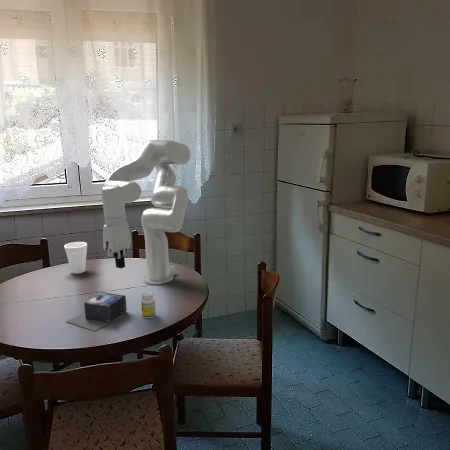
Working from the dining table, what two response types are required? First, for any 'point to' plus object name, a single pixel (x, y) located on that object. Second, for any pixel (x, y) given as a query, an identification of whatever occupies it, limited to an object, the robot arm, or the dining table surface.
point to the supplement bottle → (148, 305)
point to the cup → (76, 256)
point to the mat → (89, 322)
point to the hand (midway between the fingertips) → (120, 267)
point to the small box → (105, 307)
